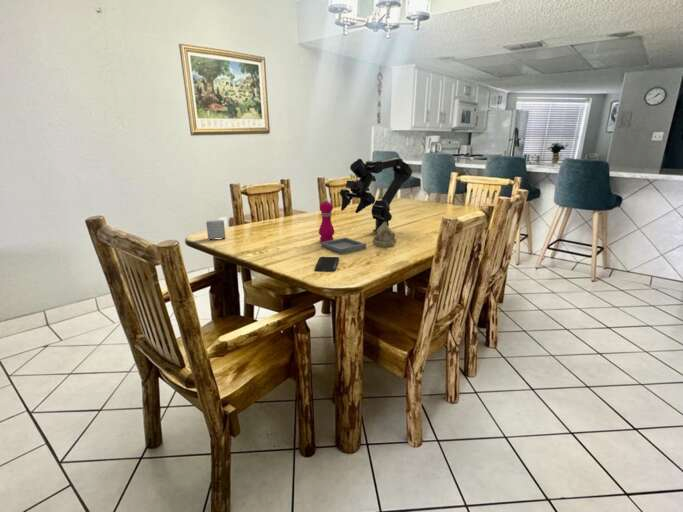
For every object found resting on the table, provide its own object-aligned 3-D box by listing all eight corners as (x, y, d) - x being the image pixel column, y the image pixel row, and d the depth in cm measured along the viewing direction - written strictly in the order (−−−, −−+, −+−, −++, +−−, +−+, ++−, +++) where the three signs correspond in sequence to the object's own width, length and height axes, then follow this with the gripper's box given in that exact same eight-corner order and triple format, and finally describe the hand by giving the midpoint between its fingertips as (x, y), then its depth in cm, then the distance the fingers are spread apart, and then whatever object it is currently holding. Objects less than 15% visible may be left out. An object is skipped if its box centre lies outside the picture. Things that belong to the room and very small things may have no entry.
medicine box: (225, 237, 177) (223, 219, 174) (225, 239, 173) (223, 221, 170) (208, 238, 175) (206, 220, 172) (208, 240, 171) (206, 222, 168)
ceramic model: (371, 239, 173) (372, 218, 170) (395, 239, 173) (396, 218, 170) (373, 247, 160) (373, 225, 157) (398, 247, 160) (399, 225, 157)
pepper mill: (332, 243, 166) (332, 199, 160) (317, 242, 167) (316, 199, 161) (335, 239, 173) (335, 197, 167) (321, 238, 174) (320, 197, 168)
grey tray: (321, 247, 160) (321, 242, 159) (345, 241, 168) (345, 237, 168) (340, 254, 149) (340, 249, 149) (365, 248, 158) (366, 243, 157)
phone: (339, 257, 144) (335, 269, 129) (339, 259, 144) (335, 272, 130) (319, 256, 144) (313, 269, 130) (319, 259, 145) (313, 272, 130)
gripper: (340, 172, 172) (325, 199, 169) (370, 174, 159) (354, 204, 156) (352, 185, 180) (338, 212, 176) (382, 189, 167) (367, 217, 164)
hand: (348, 211), depth 168 cm, fingers open, 9 cm apart
